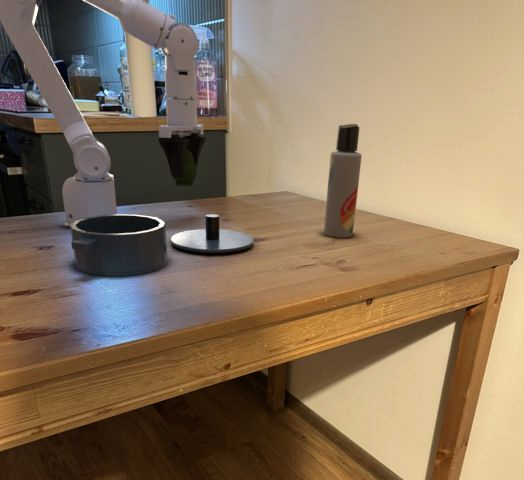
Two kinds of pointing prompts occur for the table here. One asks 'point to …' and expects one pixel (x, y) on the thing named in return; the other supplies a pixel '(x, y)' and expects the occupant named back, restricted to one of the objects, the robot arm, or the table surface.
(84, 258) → the pot
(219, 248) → the pot lid
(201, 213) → the table surface
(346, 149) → the lotion bottle
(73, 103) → the robot arm
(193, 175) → the avocado
